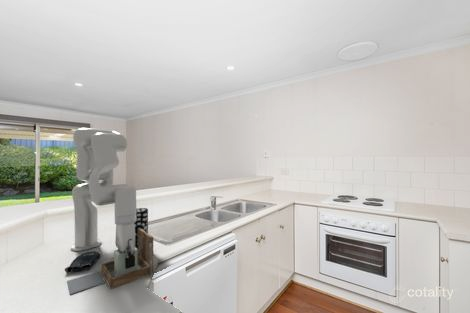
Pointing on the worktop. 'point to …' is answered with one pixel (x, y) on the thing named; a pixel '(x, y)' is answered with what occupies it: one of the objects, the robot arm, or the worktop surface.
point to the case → (143, 260)
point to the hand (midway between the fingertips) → (126, 262)
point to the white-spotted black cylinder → (141, 222)
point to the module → (123, 263)
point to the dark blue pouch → (84, 260)
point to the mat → (85, 282)
